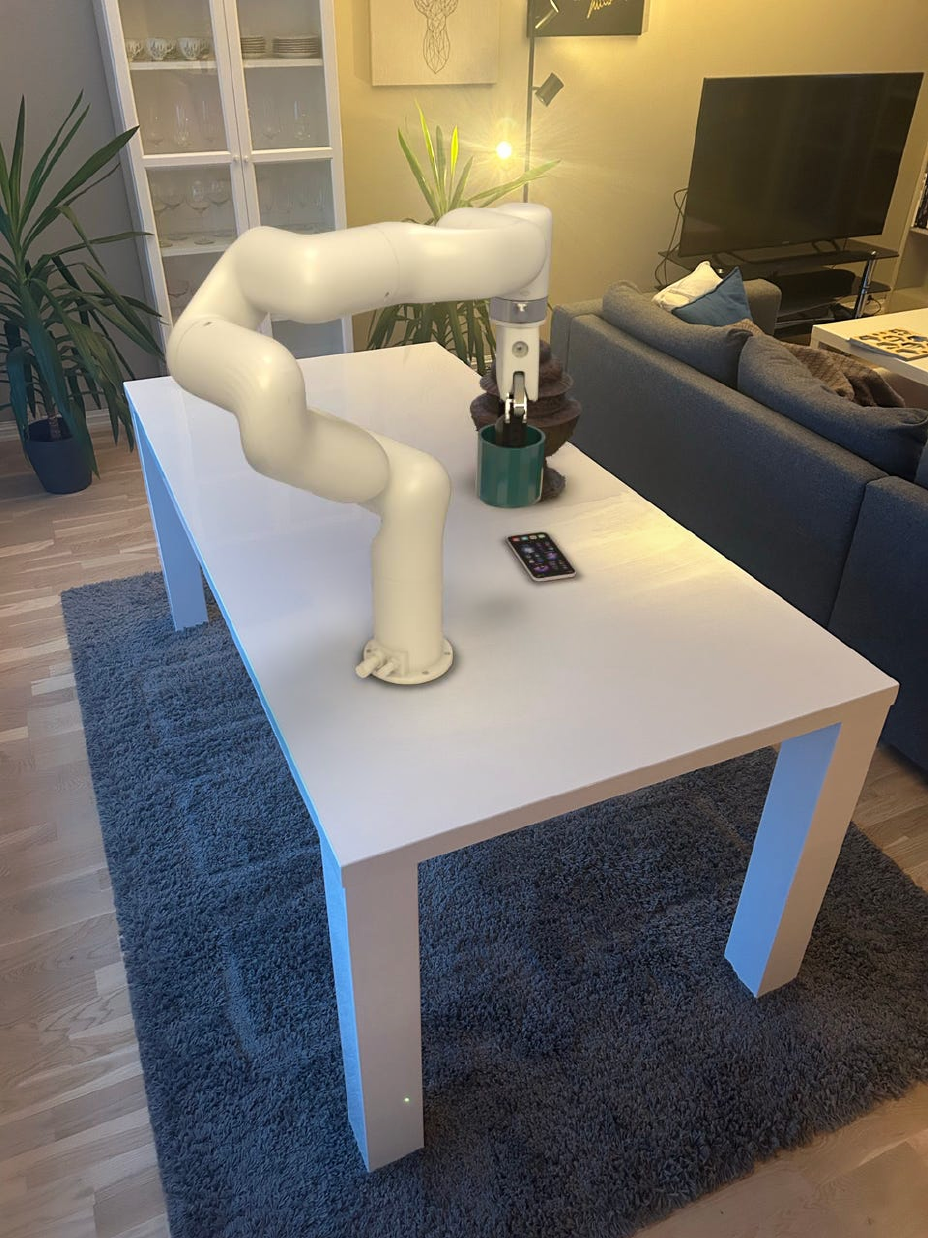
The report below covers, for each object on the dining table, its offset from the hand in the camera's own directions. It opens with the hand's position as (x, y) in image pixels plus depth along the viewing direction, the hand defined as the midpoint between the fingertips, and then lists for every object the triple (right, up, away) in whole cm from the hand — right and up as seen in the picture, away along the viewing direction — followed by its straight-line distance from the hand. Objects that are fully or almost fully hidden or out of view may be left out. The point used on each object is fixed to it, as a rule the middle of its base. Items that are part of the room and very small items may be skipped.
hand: (511, 438), depth 132 cm
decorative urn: (+4, 0, +50) cm, 50 cm away
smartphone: (+6, -15, +27) cm, 32 cm away
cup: (0, -7, +5) cm, 9 cm away
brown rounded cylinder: (0, -6, +5) cm, 8 cm away
